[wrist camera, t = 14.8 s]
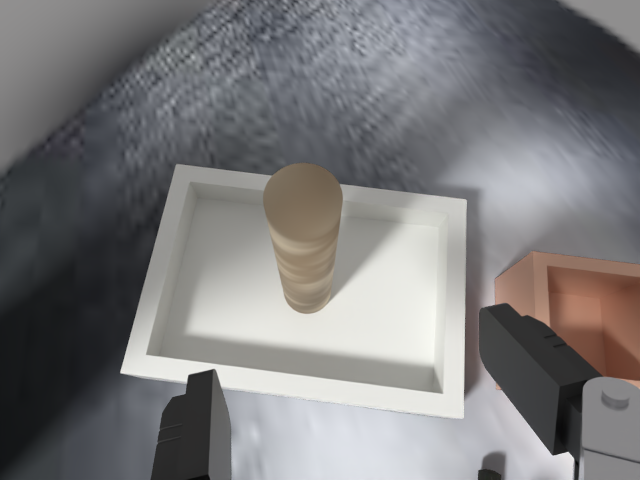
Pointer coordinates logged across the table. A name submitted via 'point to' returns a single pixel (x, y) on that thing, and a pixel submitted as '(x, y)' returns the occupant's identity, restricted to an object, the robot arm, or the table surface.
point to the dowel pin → (304, 232)
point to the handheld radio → (488, 475)
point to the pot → (581, 306)
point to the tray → (316, 328)
